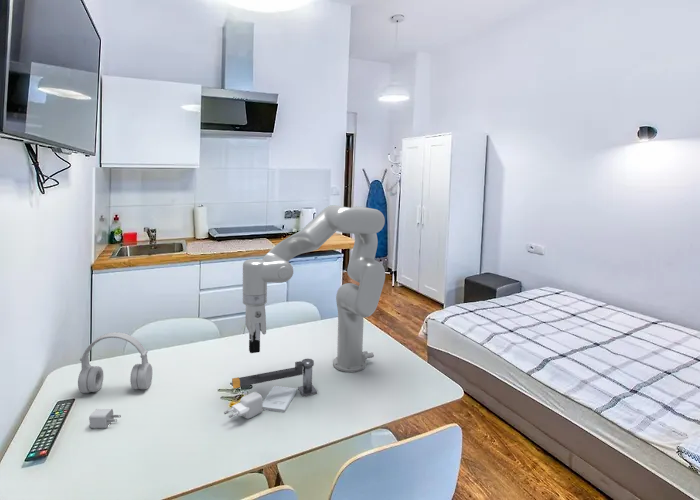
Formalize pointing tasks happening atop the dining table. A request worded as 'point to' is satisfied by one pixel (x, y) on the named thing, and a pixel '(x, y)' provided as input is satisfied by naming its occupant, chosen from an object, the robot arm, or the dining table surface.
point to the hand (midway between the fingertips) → (254, 351)
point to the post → (307, 383)
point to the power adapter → (247, 406)
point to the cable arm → (273, 374)
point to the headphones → (93, 375)
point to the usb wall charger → (102, 418)
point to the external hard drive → (279, 398)
